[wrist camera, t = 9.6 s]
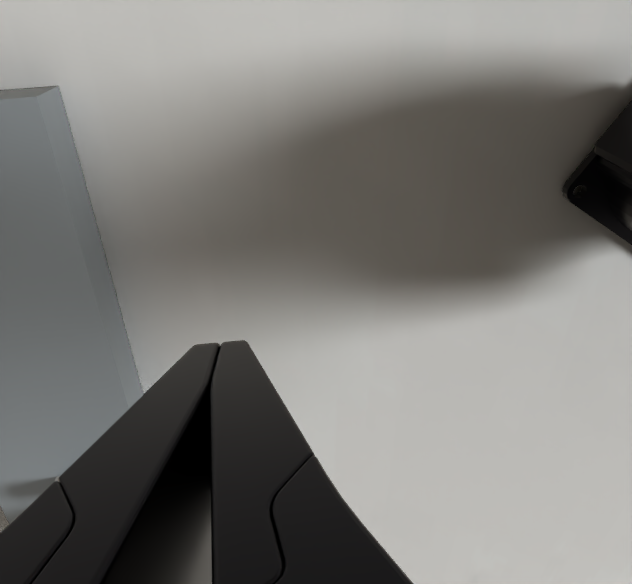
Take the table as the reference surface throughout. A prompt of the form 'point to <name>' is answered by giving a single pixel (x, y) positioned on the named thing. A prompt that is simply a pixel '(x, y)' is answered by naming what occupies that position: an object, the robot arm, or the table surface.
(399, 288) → the table surface
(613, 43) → the table surface
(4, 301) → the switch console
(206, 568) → the robot arm
